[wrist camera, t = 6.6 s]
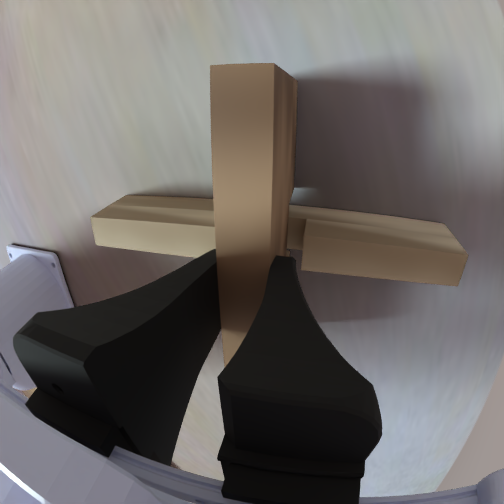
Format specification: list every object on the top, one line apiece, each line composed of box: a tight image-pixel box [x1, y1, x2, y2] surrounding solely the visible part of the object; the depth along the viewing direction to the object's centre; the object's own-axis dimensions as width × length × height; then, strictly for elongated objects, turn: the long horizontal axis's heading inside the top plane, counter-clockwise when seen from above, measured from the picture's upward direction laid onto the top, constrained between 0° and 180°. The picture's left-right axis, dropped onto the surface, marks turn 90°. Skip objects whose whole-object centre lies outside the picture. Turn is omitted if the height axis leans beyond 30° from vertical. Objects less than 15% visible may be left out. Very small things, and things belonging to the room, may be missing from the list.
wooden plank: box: [210, 63, 297, 367], centre depth 13 cm, size 14×2×7 cm, turn 0°
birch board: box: [90, 195, 468, 286], centre depth 14 cm, size 2×18×4 cm, turn 90°
